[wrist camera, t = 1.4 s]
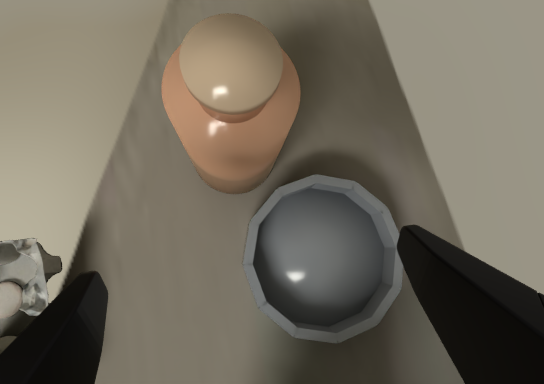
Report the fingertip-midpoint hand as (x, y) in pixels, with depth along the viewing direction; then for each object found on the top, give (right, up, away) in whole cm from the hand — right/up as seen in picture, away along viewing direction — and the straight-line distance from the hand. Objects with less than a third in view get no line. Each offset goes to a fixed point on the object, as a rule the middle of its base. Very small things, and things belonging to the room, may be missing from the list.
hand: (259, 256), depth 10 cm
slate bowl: (+4, -3, +14) cm, 14 cm away
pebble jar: (-2, +5, +14) cm, 15 cm away
